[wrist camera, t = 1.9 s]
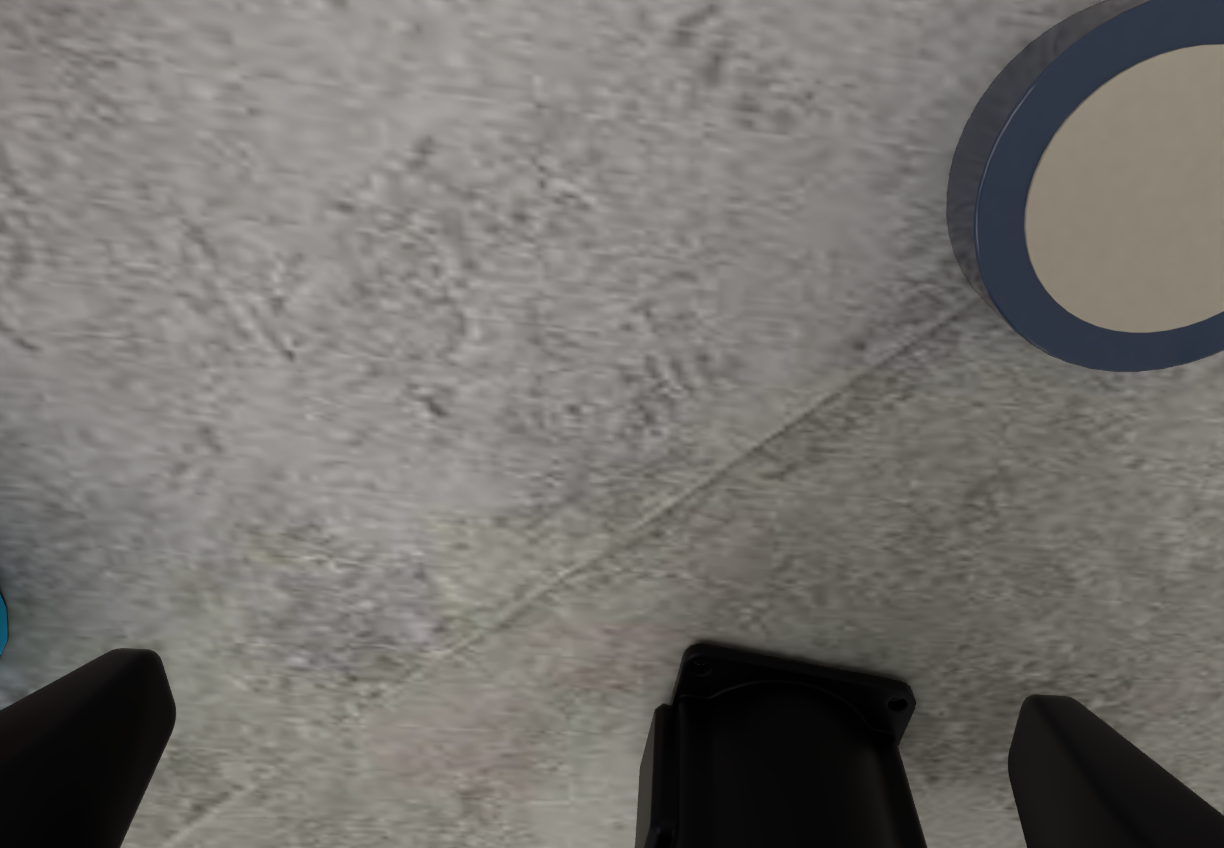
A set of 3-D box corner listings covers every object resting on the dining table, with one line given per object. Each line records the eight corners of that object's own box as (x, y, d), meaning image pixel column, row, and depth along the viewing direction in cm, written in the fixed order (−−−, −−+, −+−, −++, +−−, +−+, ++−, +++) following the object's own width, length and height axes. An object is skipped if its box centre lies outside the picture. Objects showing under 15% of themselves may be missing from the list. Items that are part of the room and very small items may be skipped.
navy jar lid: (1385, 25, 16) (1479, 26, 14) (1206, 365, 19) (1264, 403, 17) (1019, -43, 16) (1064, -51, 14) (901, 307, 19) (924, 340, 17)
